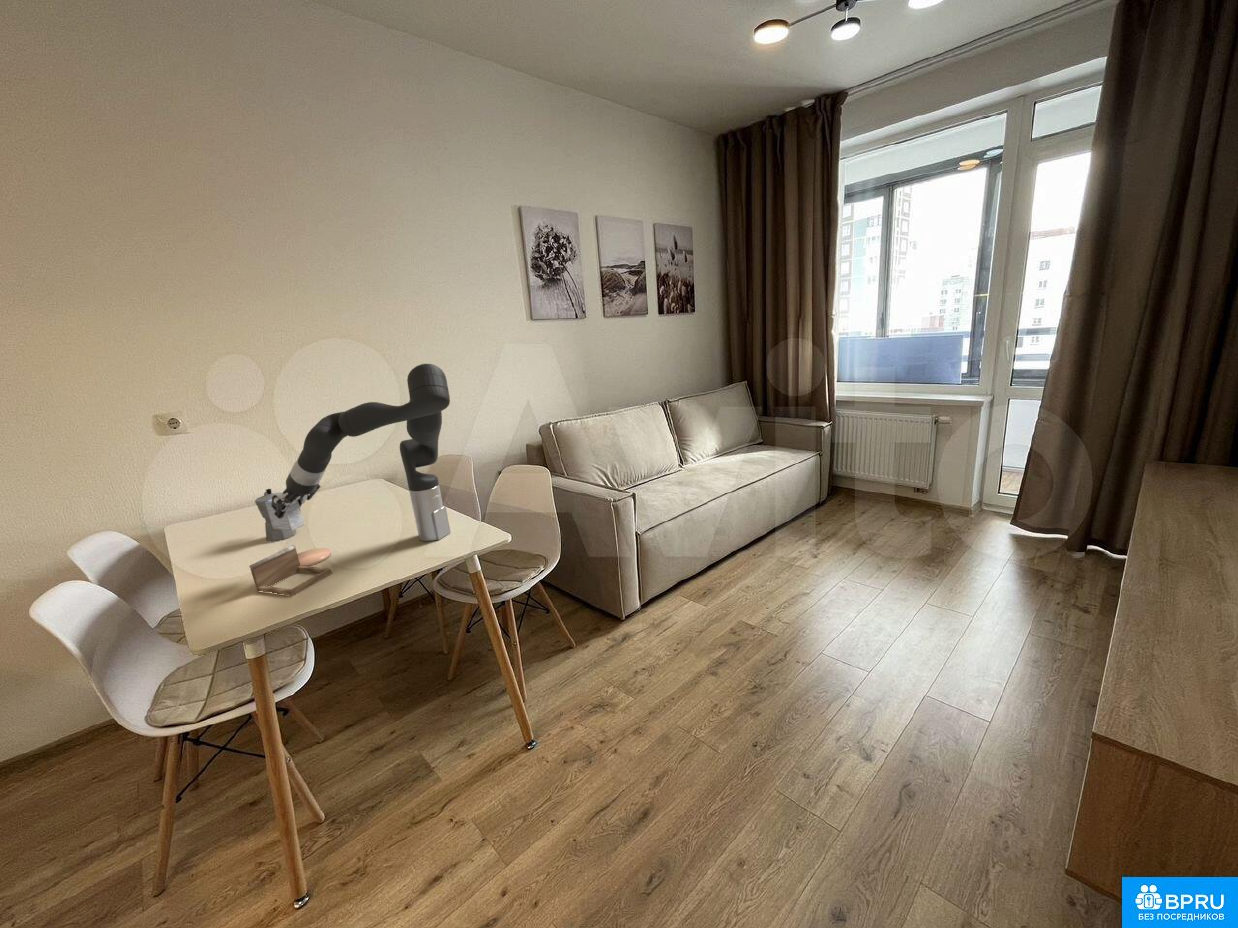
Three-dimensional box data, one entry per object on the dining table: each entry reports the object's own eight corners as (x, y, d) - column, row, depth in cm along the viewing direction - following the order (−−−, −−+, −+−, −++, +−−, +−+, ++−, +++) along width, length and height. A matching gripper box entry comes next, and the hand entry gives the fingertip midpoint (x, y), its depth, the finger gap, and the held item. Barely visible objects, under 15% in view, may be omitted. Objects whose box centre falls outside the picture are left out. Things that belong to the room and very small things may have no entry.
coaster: (339, 552, 162) (339, 549, 162) (306, 569, 151) (306, 566, 151) (311, 549, 166) (311, 546, 166) (277, 566, 155) (277, 563, 155)
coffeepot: (301, 536, 179) (288, 488, 174) (270, 545, 173) (255, 496, 168) (291, 526, 190) (278, 481, 185) (261, 535, 184) (247, 488, 179)
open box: (332, 573, 147) (325, 547, 145) (291, 596, 136) (283, 568, 134) (299, 569, 152) (292, 544, 150) (257, 591, 140) (248, 565, 138)
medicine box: (305, 524, 149) (298, 497, 147) (291, 531, 145) (283, 503, 143) (286, 523, 152) (278, 496, 149) (272, 529, 148) (264, 501, 145)
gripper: (292, 493, 133) (272, 532, 141) (337, 475, 146) (316, 512, 153) (272, 473, 133) (253, 513, 141) (318, 457, 146) (299, 495, 154)
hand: (286, 512), depth 147 cm, fingers closed on medicine box, 4 cm apart
